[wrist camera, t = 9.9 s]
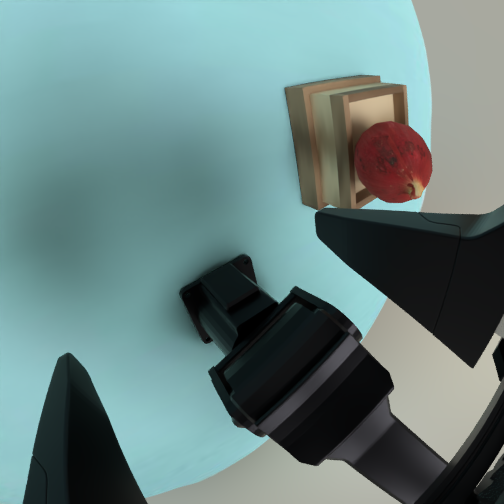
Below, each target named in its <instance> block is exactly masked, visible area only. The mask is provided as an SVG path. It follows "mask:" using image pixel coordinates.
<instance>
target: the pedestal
mask: <svg viewBox="0 0 504 504" xmlns="http://www.w3.org/2000/svg"><path fill="white" fill-rule="evenodd" d="M285 93H286V98H287V104H288V110H289V115H290V121H291V127H292V133H293V140H294V146H295V153H296V159H297V166H298V173H299V180H300V188H301V195H302V203H303V204H304V205H307V206H309V207H311V208H314V209H316V210H320V209H322V208H324V207H326V206H327V205H329V204H330V205H332V206H334V207H337V208H347V209H360V208H361V207H363V206H364V205H366V204H368V203H369V202H371V201H372V200H374V199H376V198H377V197H376V196H374V195H372V194H371V193H370V192H369V191H368V190H367V189H366V187H365V186H364V185H363V184H362V183H361V181H360V180H359V178H358V175H357V172H356V168H355V165H354V154H355V145H356V143H357V142H358V140H359V138H360V136H361V135H362V133H363V132H364V131H366V130H367V129H368V128H370V127H371V126H372V125H374V124H375V123H380V122H386V121H393V122H397V123H401V124H404V125H407V126H408V103H407V89H406V85H401V84H392V83H381V81H380V76H373V75H359V76H351V77H344V78H337V79H330V80H324V81H318V82H312V83H306V84H301V85H296V86H291V87H286V88H285Z"/></svg>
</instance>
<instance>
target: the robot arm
mask: <svg viewBox="0 0 504 504" xmlns="http://www.w3.org/2000/svg"><path fill="white" fill-rule="evenodd" d="M315 226H316V234H317V236H318V238H319V239H320V240H321V241H322V242H323V243H324V244H325V245H326V246H327V247H328V248H330V249H331V250H332V251H333V252H334V253H335V254H336V255H337V256H338V257H339V258H340V259H341V260H342V261H343V262H344V263H346V264H347V265H348V266H349V267H350V268H352V269H353V270H354V271H355V272H357V273H358V274H359V275H360V276H362V277H363V278H364V279H366V280H367V281H368V282H369V283H371V284H372V285H373V286H374V287H376V288H377V289H378V290H379V291H381V292H382V293H383V294H384V295H386V296H387V297H388V298H389V299H391V300H392V301H393V302H394V303H396V304H397V305H398V306H399V307H401V308H402V309H403V310H404V311H405V312H407V313H408V314H409V315H410V316H412V317H413V318H414V319H415V320H416V321H418V322H419V323H420V324H421V325H422V326H423V327H425V328H426V329H427V330H428V331H430V332H431V333H433V335H434V336H435V337H436V338H437V339H439V340H440V341H441V342H442V343H443V344H444V345H446V346H447V347H448V348H449V349H450V350H451V351H452V352H454V353H455V354H456V355H457V356H458V357H459V358H460V359H462V360H463V361H464V362H465V363H466V364H467V365H468V366H470V367H471V368H474V366H475V365H476V363H477V361H478V360H479V358H480V357H481V355H482V353H483V352H484V350H485V348H486V346H487V345H488V343H489V341H490V339H491V338H492V336H493V334H494V333H496V334H498V335H499V336H501V339H500V341H499V343H498V345H497V347H496V349H495V351H494V353H493V354H492V355H493V359H494V363H495V366H496V370H497V373H498V377H499V381H501V383H500V385H499V387H498V389H497V391H496V393H495V395H494V396H493V398H492V400H491V402H490V403H489V405H488V407H487V409H486V410H485V412H484V413H483V415H482V417H481V418H480V420H479V421H478V423H477V424H476V426H475V428H474V429H473V431H472V432H471V434H470V435H469V437H468V438H467V439H466V441H465V442H464V444H463V445H462V446H461V448H460V449H459V451H458V452H457V453H456V455H455V456H454V457H453V459H452V460H451V461H450V462H449V463H448V462H446V461H445V460H444V459H443V458H442V457H441V456H439V455H438V454H437V453H436V452H435V451H434V450H433V449H432V448H430V447H429V446H428V445H427V444H426V443H425V442H424V441H422V440H421V439H420V438H419V437H418V436H417V435H416V434H415V433H413V432H412V431H411V430H410V429H408V427H407V426H406V425H404V424H403V423H402V422H401V421H400V420H399V419H398V418H396V416H394V415H393V414H392V413H391V410H390V404H389V399H388V395H389V394H390V393H391V392H392V391H393V390H394V385H393V382H392V379H391V376H390V373H389V372H388V371H387V370H386V369H385V368H384V367H383V366H382V365H381V364H380V363H379V362H378V361H377V360H376V359H375V358H374V357H373V356H372V355H371V354H370V353H369V352H368V351H367V350H366V349H365V348H364V347H363V346H362V345H361V344H360V343H359V342H360V341H361V339H362V334H361V332H360V331H359V330H358V328H357V327H356V326H355V325H354V324H353V323H352V322H351V321H350V319H349V318H347V317H346V316H345V315H344V314H343V313H342V312H341V311H339V310H338V309H337V308H335V307H334V306H332V305H331V304H329V303H327V302H325V301H323V300H322V299H320V298H318V297H316V296H314V295H312V294H310V293H308V292H306V291H304V290H302V289H300V288H298V287H296V286H295V287H294V288H293V289H292V290H291V291H290V293H289V295H288V296H287V297H286V298H285V299H284V300H283V301H282V302H281V303H279V302H277V301H276V300H275V299H274V298H273V297H271V296H270V295H269V294H268V293H267V292H265V291H264V290H263V289H262V288H260V287H259V286H258V285H257V281H256V277H255V273H254V269H253V265H252V261H251V258H250V257H249V256H248V255H245V254H244V255H242V256H240V257H238V258H236V259H234V260H233V261H231V262H229V263H227V264H225V265H224V266H222V267H220V268H218V269H217V270H215V271H213V272H211V273H209V274H208V275H206V276H204V277H203V278H201V279H199V280H197V281H195V282H194V283H192V284H190V285H188V286H187V287H185V288H183V289H182V290H181V291H180V297H181V299H182V301H183V303H184V306H185V308H186V310H187V312H188V314H189V316H190V318H191V320H192V322H193V324H194V326H195V328H196V330H197V332H198V334H199V336H200V338H201V340H202V341H203V342H204V343H205V344H207V343H210V342H212V341H214V342H215V343H216V345H217V346H218V347H219V348H220V350H221V351H222V352H223V353H224V355H225V356H226V357H225V358H224V359H223V360H221V361H220V362H219V363H218V364H217V365H216V366H215V367H214V366H213V367H212V368H211V369H210V370H209V371H208V373H209V375H210V377H211V379H212V380H211V381H212V383H213V385H214V387H215V389H216V391H217V393H218V395H219V397H220V398H221V400H222V402H223V404H224V406H225V408H226V410H227V411H228V413H229V415H230V416H231V418H232V422H233V423H234V425H236V426H237V427H239V428H246V429H248V430H249V431H250V432H252V433H253V434H255V435H257V436H259V437H264V436H265V435H268V436H269V437H270V438H271V439H273V440H274V441H275V442H276V443H278V444H279V445H280V446H282V447H283V448H284V449H285V450H287V451H288V452H289V453H290V454H291V455H292V456H293V457H294V458H296V459H297V460H298V461H299V462H301V463H306V464H309V465H314V466H318V465H319V464H321V463H322V462H323V461H324V460H325V459H330V460H342V461H345V462H346V463H347V464H349V465H350V466H351V467H353V468H354V469H355V470H356V471H358V472H359V473H360V474H362V475H363V476H364V477H366V478H367V479H368V480H370V481H371V482H372V483H374V484H375V485H377V486H378V487H379V488H381V489H382V490H383V491H385V492H386V493H388V494H389V495H390V496H392V497H393V498H395V499H396V500H398V501H399V502H401V503H402V504H504V454H503V455H502V456H501V457H500V459H499V460H498V462H497V463H496V465H495V466H494V469H493V470H491V471H489V472H487V470H488V469H489V467H490V466H491V464H492V463H493V461H494V460H495V458H496V456H497V455H498V453H499V451H500V450H501V448H502V446H503V445H504V205H503V206H501V207H499V208H498V209H496V210H494V211H493V212H490V213H487V214H480V215H475V214H441V213H440V214H439V213H424V212H418V213H417V212H408V211H391V210H371V209H347V208H323V209H321V210H319V211H318V212H316V213H315ZM245 259H246V261H245V262H244V260H245ZM243 262H244V263H243ZM186 293H188V295H186V296H185V294H186ZM207 337H208V338H207ZM206 338H207V339H206ZM32 454H33V456H32V458H31V463H30V469H29V474H28V480H27V485H26V490H25V495H24V500H23V504H148V503H147V502H146V500H145V498H144V496H143V494H142V492H141V490H140V488H139V486H138V484H137V482H136V480H135V478H134V476H133V474H132V472H131V470H130V468H129V466H128V463H127V461H126V459H125V457H124V455H123V452H122V450H121V448H120V445H119V443H118V440H117V438H116V436H115V433H114V430H113V428H112V425H111V423H110V420H109V418H108V415H107V413H106V411H105V409H104V407H103V405H102V403H101V401H100V398H99V396H98V394H97V392H96V390H95V387H94V385H93V383H92V381H91V378H90V376H89V374H88V372H87V370H86V369H85V368H84V367H83V366H82V365H81V363H80V362H79V361H78V360H77V359H76V358H75V357H74V356H73V355H72V354H71V353H66V354H64V355H62V356H61V357H59V358H58V360H57V363H56V366H55V369H54V372H53V375H52V379H51V382H50V385H49V388H48V392H47V395H46V399H45V402H44V406H43V410H42V413H41V417H40V421H39V425H38V430H37V434H36V438H35V443H34V448H33V453H32ZM486 472H487V473H486ZM485 473H486V475H485ZM484 475H485V476H484ZM483 476H484V478H483ZM482 478H483V479H482ZM481 479H482V481H481ZM480 481H481V482H480ZM479 482H480V483H479ZM478 483H479V485H478ZM477 485H478V486H477ZM476 486H477V487H476Z"/></svg>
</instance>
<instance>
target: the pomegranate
mask: <svg viewBox="0 0 504 504" xmlns="http://www.w3.org/2000/svg"><path fill="white" fill-rule="evenodd" d="M354 165H355V168H356V172H357V175H358V178H359V180H360V181H361V183H362V184H363V185H364V186H365V187H366V189H367V190H368V191H369V192H370V193H371V194H372V195H374V196H376V197H378V198H379V199H381V200H383V201H385V202H388V203H403V202H406V201H409V200H412V199H417V198H419V197H421V195H422V192H423V190H424V189H425V187H426V186H427V184H428V183H429V180H430V177H431V173H432V158H431V153H430V151H429V149H428V147H427V145H426V143H425V141H424V140H423V138H422V137H421V136H420V135H419V134H418V133H417V132H415V131H414V130H413V129H412V128H411V127H410V126H407V125H404V124H401V123H397V122H393V121H386V122H380V123H375V124H374V125H372V126H371V127H370V128H368V129H367V130H366V131H364V132H363V133H362V135H361V136H360V138H359V140H358V142H357V143H356V145H355V154H354Z"/></svg>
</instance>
